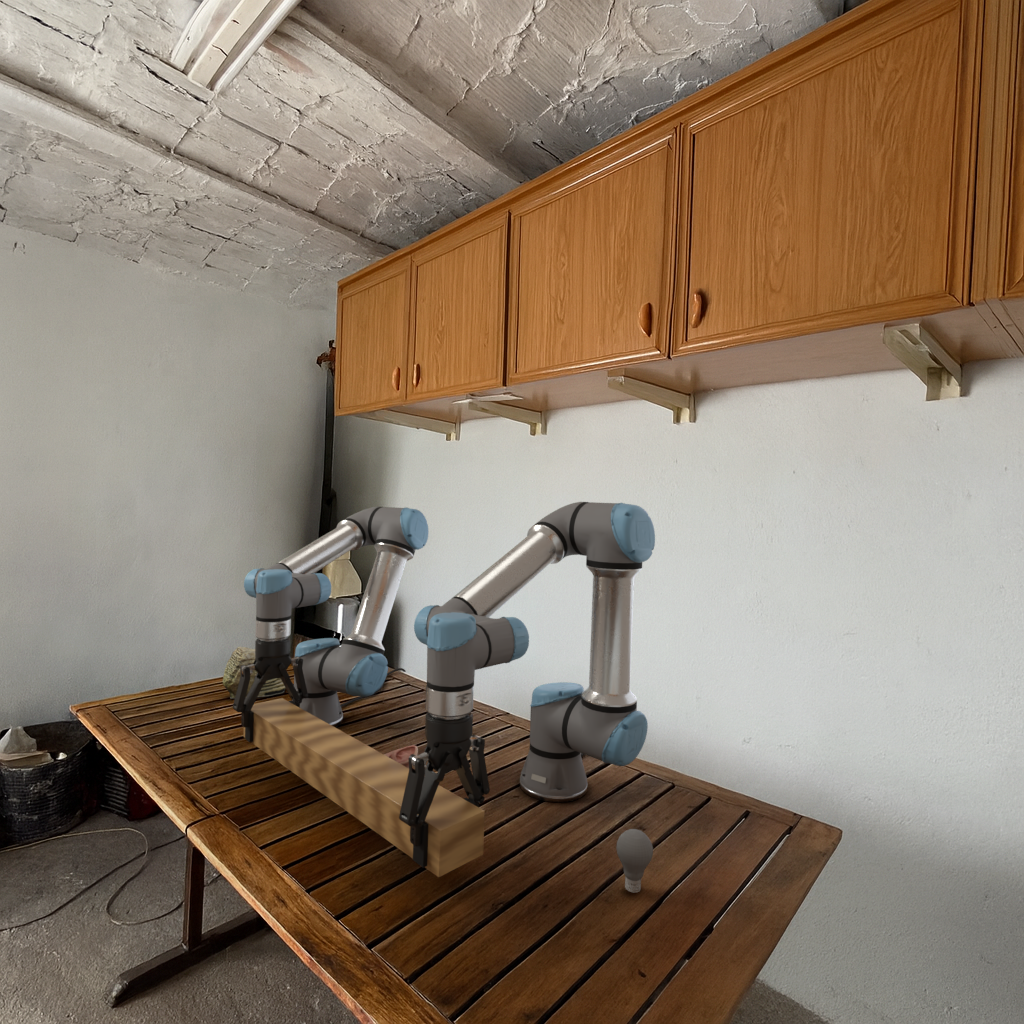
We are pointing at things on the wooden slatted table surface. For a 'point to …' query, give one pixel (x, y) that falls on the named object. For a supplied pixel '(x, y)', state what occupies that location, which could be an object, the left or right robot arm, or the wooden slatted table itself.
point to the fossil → (233, 675)
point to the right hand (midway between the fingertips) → (445, 851)
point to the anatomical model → (403, 754)
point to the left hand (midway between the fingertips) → (270, 734)
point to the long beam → (366, 784)
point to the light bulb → (634, 857)
